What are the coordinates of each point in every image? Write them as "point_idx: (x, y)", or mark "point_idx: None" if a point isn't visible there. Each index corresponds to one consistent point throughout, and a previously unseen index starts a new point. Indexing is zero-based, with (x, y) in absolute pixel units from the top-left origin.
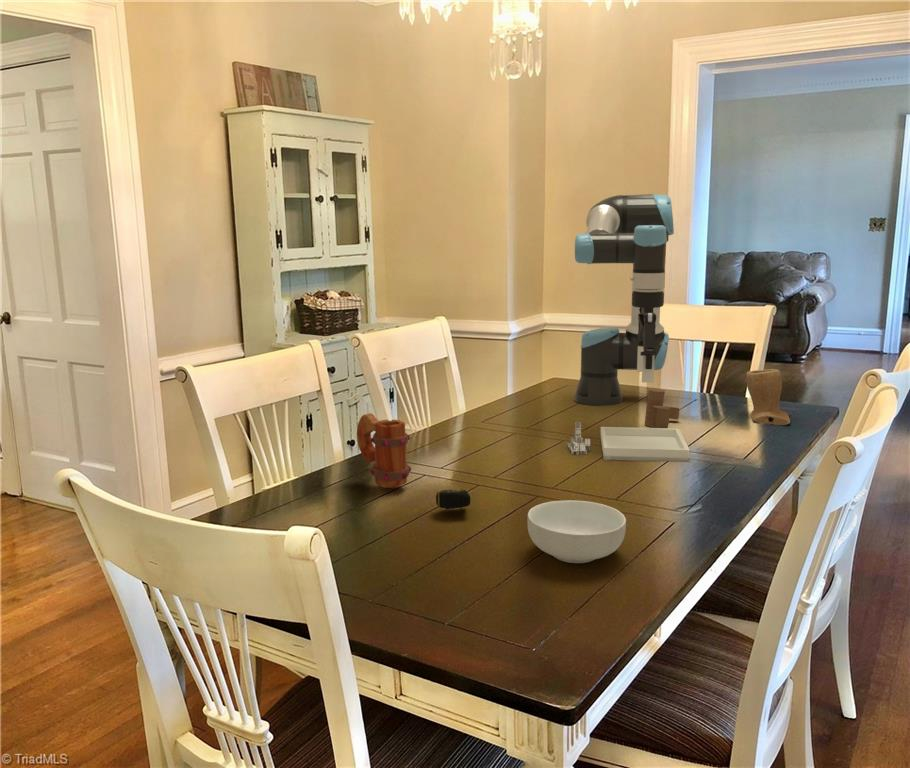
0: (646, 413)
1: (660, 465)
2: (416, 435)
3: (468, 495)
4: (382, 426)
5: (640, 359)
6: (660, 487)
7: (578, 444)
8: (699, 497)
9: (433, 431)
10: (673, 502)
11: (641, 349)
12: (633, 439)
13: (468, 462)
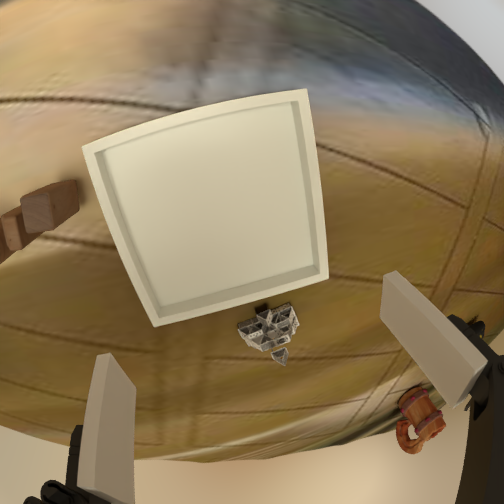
0: (4, 260)
1: (332, 152)
2: (252, 457)
3: (484, 326)
4: (442, 429)
5: (126, 434)
6: (436, 151)
7: (293, 325)
8: (457, 99)
9: (230, 456)
10: (473, 137)
11: (122, 485)
12: (168, 242)
13: (349, 393)
